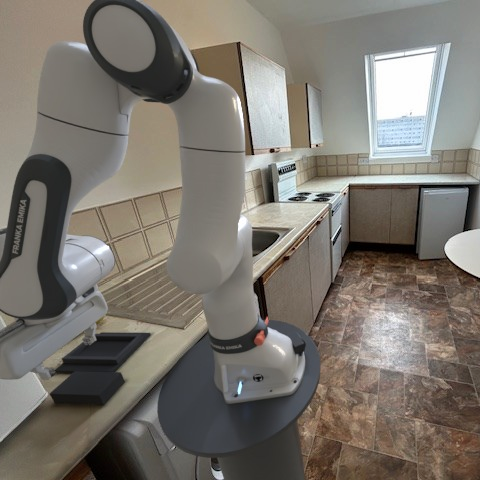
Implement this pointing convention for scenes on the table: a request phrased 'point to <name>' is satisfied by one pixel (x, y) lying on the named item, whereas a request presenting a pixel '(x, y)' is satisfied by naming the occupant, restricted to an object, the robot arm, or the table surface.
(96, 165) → the robot arm
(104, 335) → the base pad
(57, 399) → the black pad
